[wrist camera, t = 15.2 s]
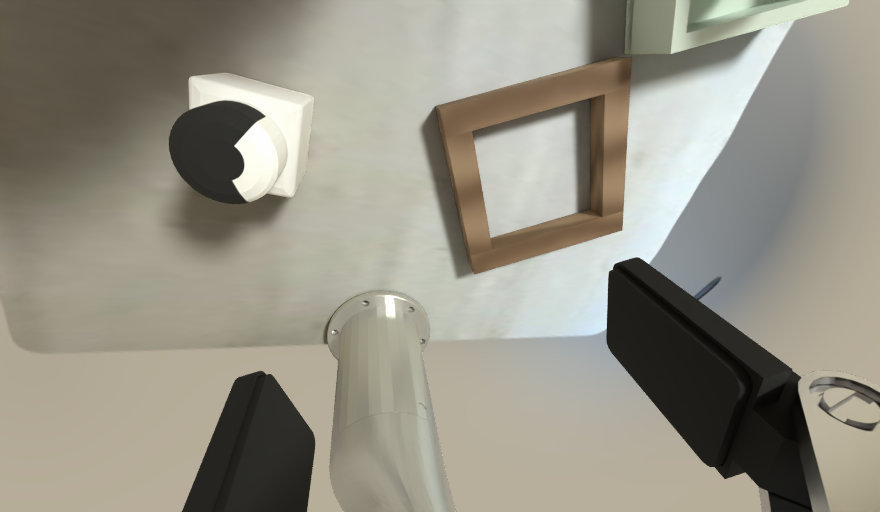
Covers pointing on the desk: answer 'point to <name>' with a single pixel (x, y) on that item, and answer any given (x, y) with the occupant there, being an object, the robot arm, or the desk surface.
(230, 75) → the medicine bottle
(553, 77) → the wooden frame
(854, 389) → the robot arm
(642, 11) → the bin
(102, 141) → the desk surface
